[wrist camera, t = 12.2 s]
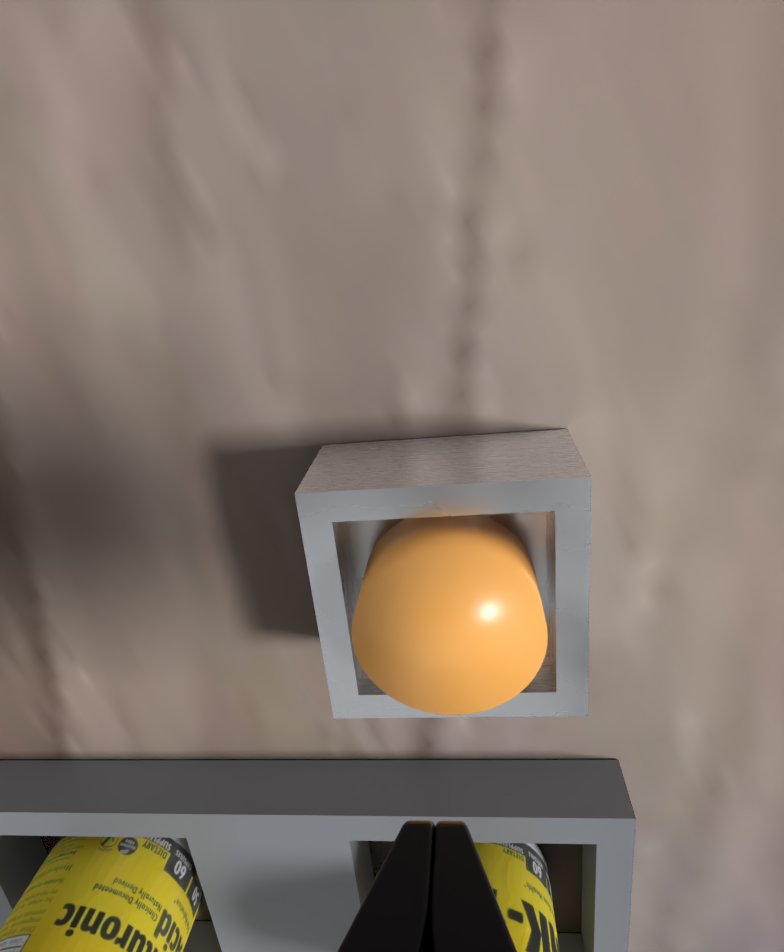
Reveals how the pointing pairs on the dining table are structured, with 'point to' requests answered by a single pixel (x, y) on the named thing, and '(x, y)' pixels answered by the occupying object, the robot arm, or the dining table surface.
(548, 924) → the supplement bottle
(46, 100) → the dining table surface
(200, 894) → the supplement bottle
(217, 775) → the bottle holder
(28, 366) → the dining table surface
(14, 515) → the dining table surface
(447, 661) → the button
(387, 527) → the button console
